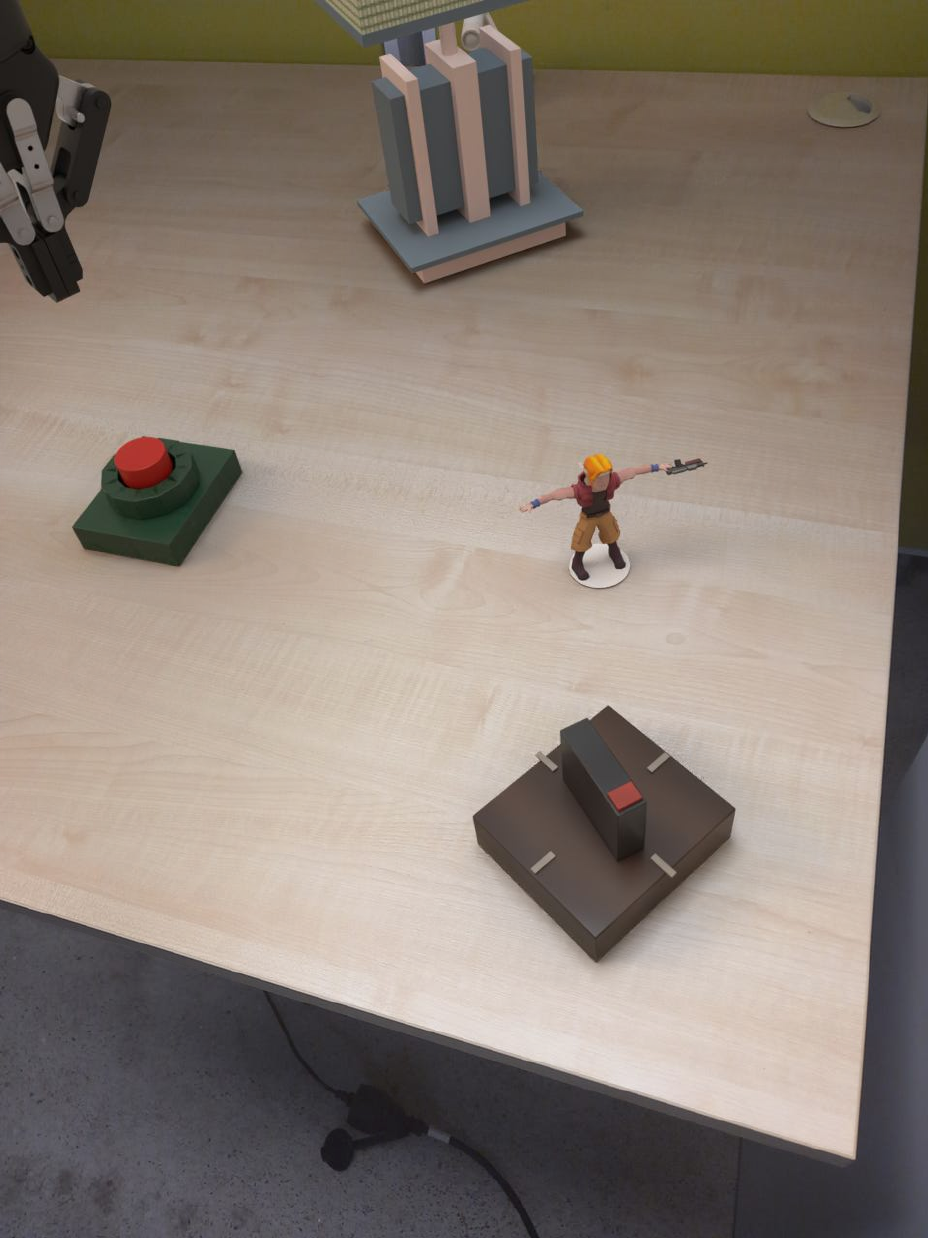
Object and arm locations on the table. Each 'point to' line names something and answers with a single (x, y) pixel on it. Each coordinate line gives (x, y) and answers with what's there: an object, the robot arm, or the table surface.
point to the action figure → (601, 518)
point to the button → (143, 462)
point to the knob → (603, 789)
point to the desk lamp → (455, 140)
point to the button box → (159, 505)
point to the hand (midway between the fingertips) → (61, 292)
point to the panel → (578, 856)
